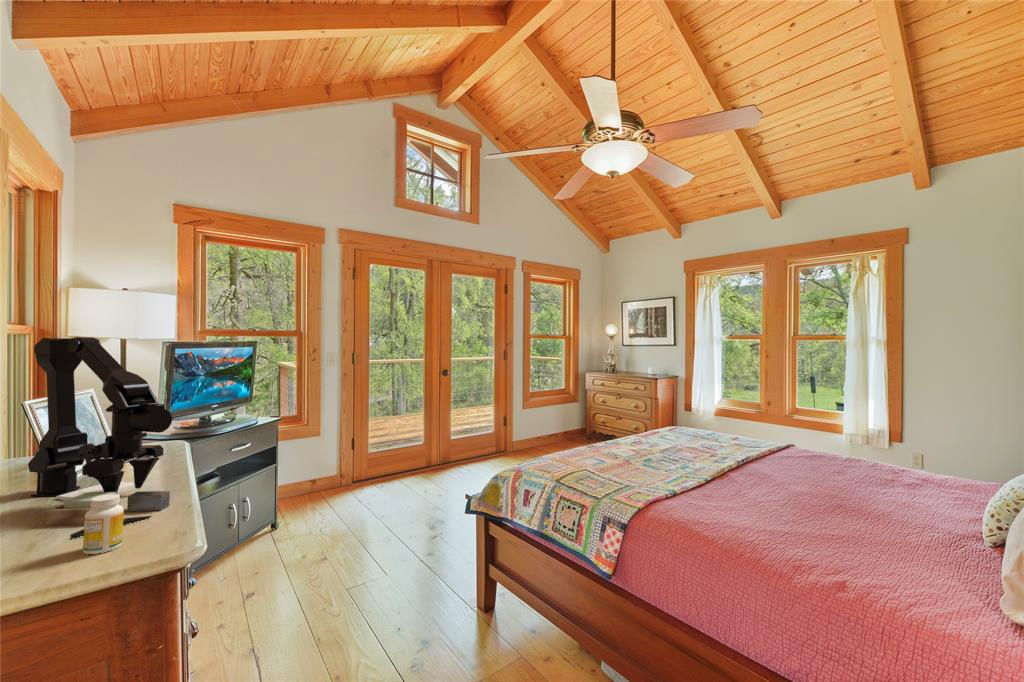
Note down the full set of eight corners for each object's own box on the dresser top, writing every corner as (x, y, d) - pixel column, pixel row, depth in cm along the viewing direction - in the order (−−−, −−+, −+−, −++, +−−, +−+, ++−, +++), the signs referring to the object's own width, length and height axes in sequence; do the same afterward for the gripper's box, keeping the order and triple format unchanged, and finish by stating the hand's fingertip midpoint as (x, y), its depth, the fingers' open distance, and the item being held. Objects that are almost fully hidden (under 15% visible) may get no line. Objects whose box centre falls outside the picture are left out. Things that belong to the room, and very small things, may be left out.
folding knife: (151, 520, 96) (152, 510, 96) (153, 521, 96) (154, 511, 96) (69, 541, 85) (70, 530, 85) (71, 542, 85) (71, 531, 85)
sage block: (63, 519, 95) (63, 500, 95) (88, 509, 101) (89, 491, 101) (91, 519, 95) (92, 500, 95) (115, 509, 101) (116, 492, 101)
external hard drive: (135, 488, 117) (81, 504, 105) (111, 486, 119) (55, 501, 107) (135, 482, 117) (82, 497, 105) (111, 480, 119) (55, 495, 107)
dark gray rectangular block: (127, 511, 100) (127, 495, 100) (136, 506, 103) (137, 491, 103) (160, 510, 101) (161, 495, 101) (169, 505, 103) (169, 490, 104)
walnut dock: (46, 525, 91) (47, 511, 91) (67, 516, 96) (68, 502, 96) (96, 523, 93) (97, 509, 93) (115, 514, 98) (115, 501, 98)
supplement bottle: (84, 558, 78) (87, 504, 78) (81, 549, 81) (83, 497, 81) (124, 548, 82) (126, 496, 82) (119, 539, 85) (121, 490, 85)
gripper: (119, 424, 115) (117, 483, 115) (56, 438, 97) (53, 509, 96) (165, 423, 117) (163, 482, 116) (112, 437, 98) (109, 507, 98)
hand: (125, 494), depth 107 cm, fingers open, 9 cm apart
